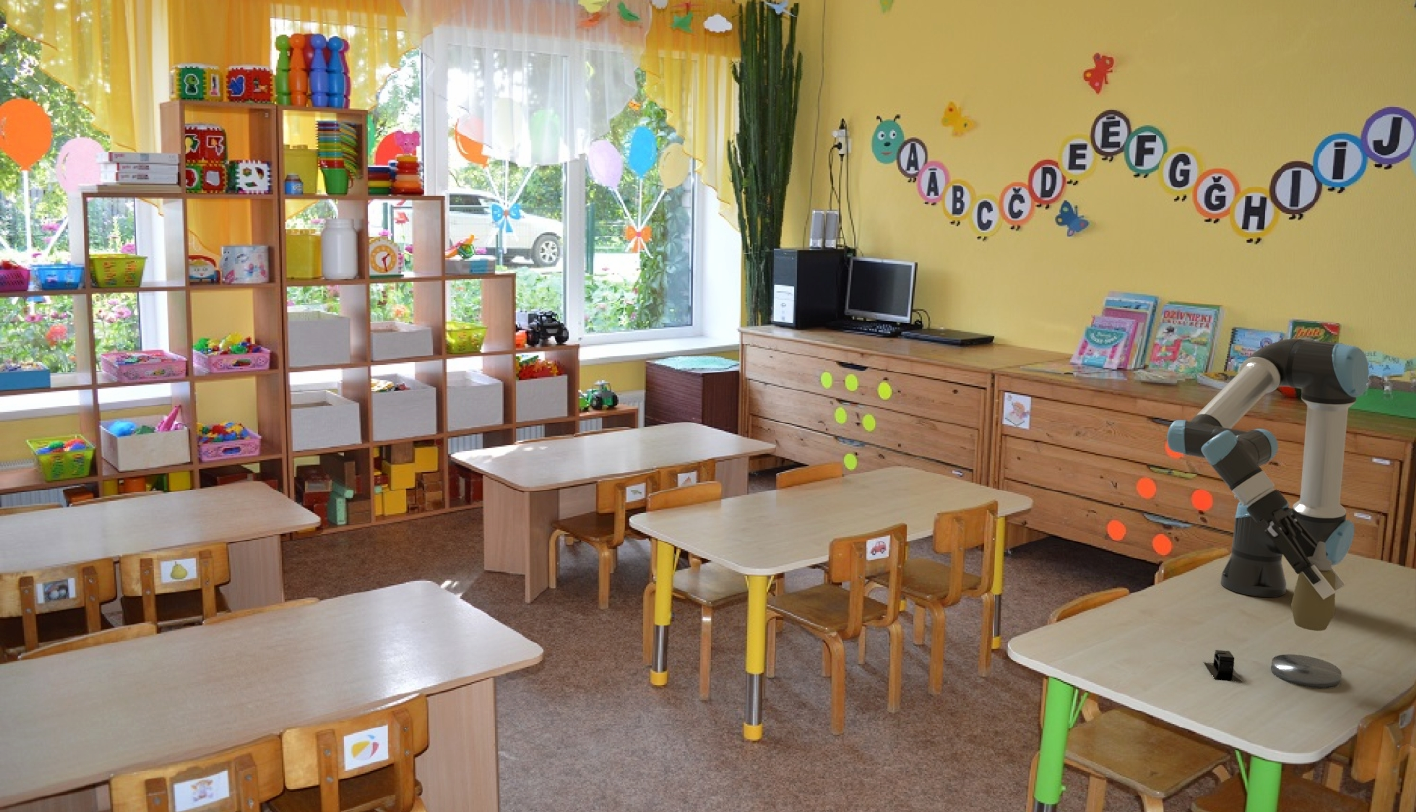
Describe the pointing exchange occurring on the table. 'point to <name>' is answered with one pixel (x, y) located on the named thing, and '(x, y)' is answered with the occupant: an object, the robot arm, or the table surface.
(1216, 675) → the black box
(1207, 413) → the robot arm
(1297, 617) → the squeeze bottle
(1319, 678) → the cap
